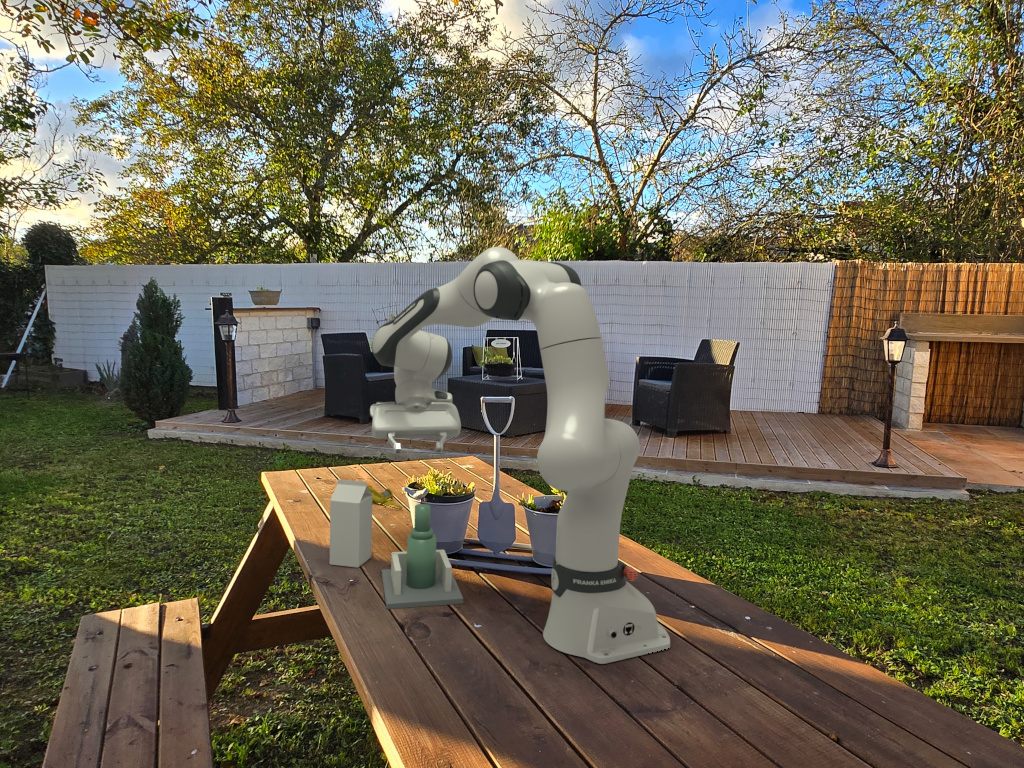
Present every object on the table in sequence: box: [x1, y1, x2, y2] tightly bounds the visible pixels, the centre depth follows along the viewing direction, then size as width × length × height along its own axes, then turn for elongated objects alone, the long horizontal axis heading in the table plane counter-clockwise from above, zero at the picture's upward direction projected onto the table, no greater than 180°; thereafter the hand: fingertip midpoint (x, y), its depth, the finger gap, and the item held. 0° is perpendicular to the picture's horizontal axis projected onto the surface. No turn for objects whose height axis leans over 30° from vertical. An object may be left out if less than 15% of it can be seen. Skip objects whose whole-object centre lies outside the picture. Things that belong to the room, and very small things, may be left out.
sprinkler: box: [367, 484, 403, 510], centre depth 196 cm, size 19×4×15 cm
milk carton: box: [329, 478, 373, 568], centre depth 147 cm, size 7×7×19 cm
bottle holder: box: [381, 549, 464, 610], centre depth 134 cm, size 15×18×6 cm
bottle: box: [406, 503, 437, 589], centre depth 133 cm, size 6×6×16 cm
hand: (418, 451), depth 142 cm, fingers open, 8 cm apart
